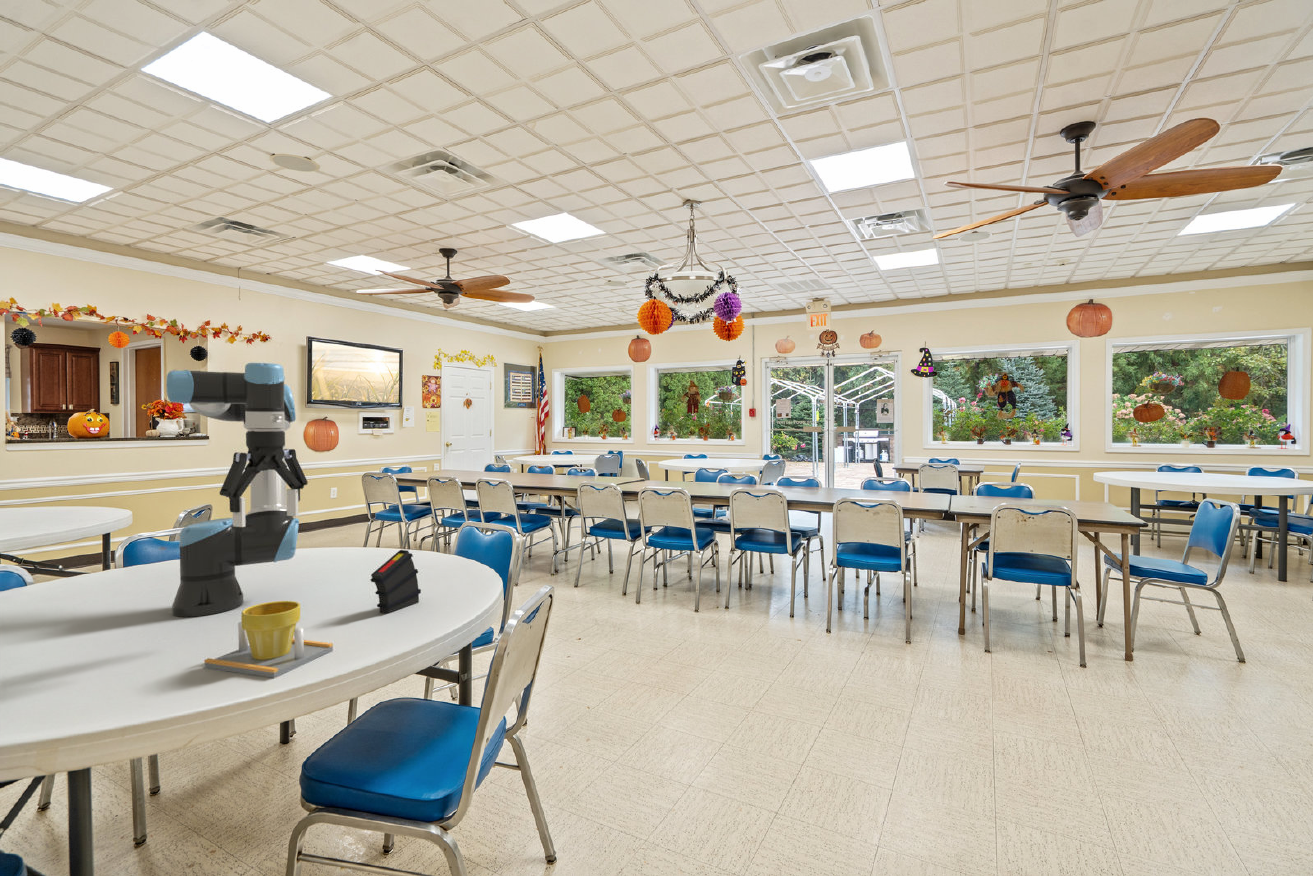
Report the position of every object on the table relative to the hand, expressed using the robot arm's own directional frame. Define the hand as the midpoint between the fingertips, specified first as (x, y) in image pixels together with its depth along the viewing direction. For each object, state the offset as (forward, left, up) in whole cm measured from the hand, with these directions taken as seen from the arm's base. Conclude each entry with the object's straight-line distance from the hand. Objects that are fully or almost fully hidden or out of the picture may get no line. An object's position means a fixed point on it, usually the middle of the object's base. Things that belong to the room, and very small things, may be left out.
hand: (267, 521), depth 135 cm
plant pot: (+14, -11, -26) cm, 31 cm away
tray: (+14, -11, -27) cm, 32 cm away
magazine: (+16, +24, -27) cm, 39 cm away
